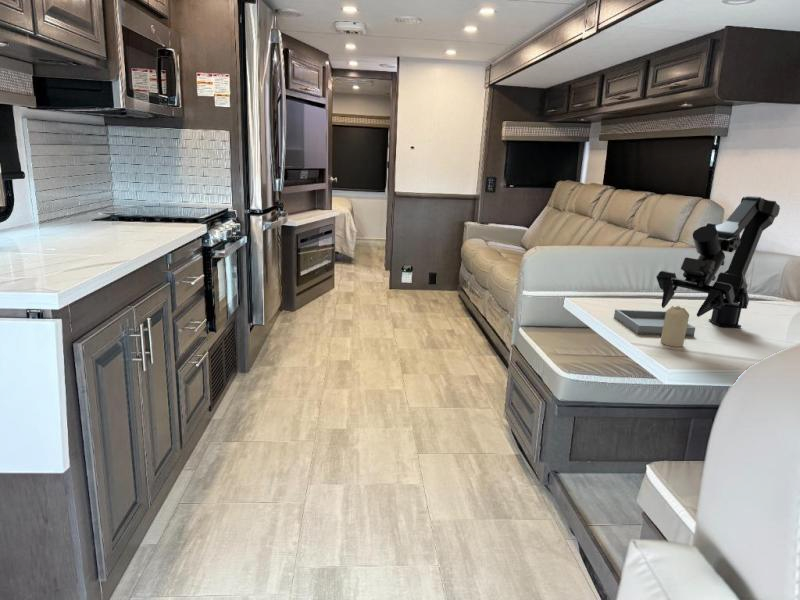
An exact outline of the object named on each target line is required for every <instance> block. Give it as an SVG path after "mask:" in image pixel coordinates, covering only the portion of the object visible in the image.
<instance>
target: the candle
mask: <svg viewBox="0 0 800 600" xmlns="http://www.w3.org/2000/svg"><path fill="white" fill-rule="evenodd" d="M665 311H666V314H665V320H664V325H663V330H662V335H660V336H661V337H660V343H662V345H666V346H669V347H675V348H680V347H683V346H684V343H685V338H686V336H685V334H686V329H687V324H689V323H688V322H689V318H690V314H689V312H688V311H687V309H686V308H684V307H681V306H679V305H678V306H670V307H669V308H668V309H667V310H665Z"/></svg>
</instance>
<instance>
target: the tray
mask: <svg viewBox="0 0 800 600" xmlns="http://www.w3.org/2000/svg"><path fill="white" fill-rule="evenodd" d="M666 311H667V310H664V311H661V310H642V309H641V310H638V309H636V310H635V309H615V310H614V314H613V318H614V319H615V320H617V321H618V320H619V323H621V324H623V325H624V326H625V327H627V328H628V329H629V330H631V331H633V332H634V333H636V334H637V335H645V336H646V335H650V336H651V335H652V336H662V330H663V325H664V320H665V314H666ZM695 331H696V327H695V326H693V325H691V324H689V323H688V324H687V329H686V334H685V337H694V336H695Z"/></svg>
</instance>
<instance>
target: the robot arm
mask: <svg viewBox="0 0 800 600" xmlns="http://www.w3.org/2000/svg"><path fill="white" fill-rule="evenodd" d="M780 210H781V207H780V204H778V202H777V201H776V200H768V199H766V198H763V197H761V196H752V195H751V196H750V195H745V196H743V197H742V198H741V200H740V203H739V204H738V206H737V207H736V208H735V209H734V210H733V212H732V213H731V214H730V215H729V217H728V218H726V220H725V221H724V222H723V223H719V224H716V223H711V222H710V223H706V225H705V226H701V227H698V228H696V230H694V231H693V233H692V239H693V242H694V246H695V251H696V253H697V254H699V256H698V258H691V257H684V259H683V260H682V261H683V262H682V264H681V267H680V270H682V271H683V273H682V276H683V278H684V279H681V278H678V277H677V275H676V272H672V271H667V270H660V271H659V272H658V274H657V275H656V280H657V283H658V286H659V288H660V289H661V290H662V301H661V308H662V309H664V308H665V307H666V306H667V305H668V304H669V302H670V301H671V299H673V296H674V295H675V291H677V289H678V287H679V288H683V289H688V290H692V291H695V292H700V293H704V294H707V297H706V298H705V299H704V301H703V303H702V304H701V306H700V307H699V309H698V311H697V313H696V317H698V318H700V317H701V316H703V315H704V314H707V313H708V312H710V311H712V313H711V317H710V318H709V319H708V322H711V323H713V324H714V325H716V326H719V327H722V328H742V325H740V324H739V321H740V317H741V312H742V309H746V310H747V309H748V305H749V301H750V298H749V294H748V289H747V288H748V283H747V279H746V274H747V272H748V269H749V266H750V264H751V261H752V259H753V257H754V254H755V251H756V249H757V246H758V244H759V241H760V239H761V236H762V234H763V231H765V230H766V229H767V228H769V227H771V225H773V223H774V221H775V219H776V218H777V217H778V216H779V213H780ZM741 233H742V234H741ZM740 234H741V235H740ZM725 252H726V253H727V252H728V253H733V252H734V254H733V256H732V258H731V261H730V264H729V266H728V268H727V270H725V271H724V272H720V273H718V271H719V269H720V267H721V266H722V267H723V266H724V265H725V259H726V255H725ZM717 273H718V274H717ZM716 275H718V276H717V278H716ZM712 281H713V282H714V281H715V282H714V283H713V284H712V285H710V284H711V283H712Z"/></svg>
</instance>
